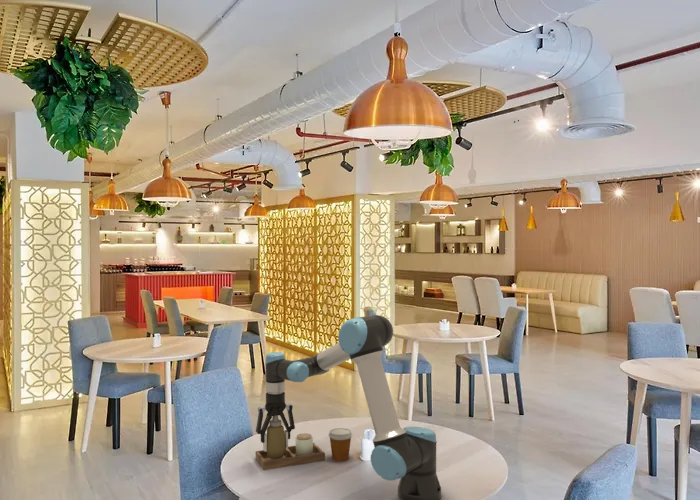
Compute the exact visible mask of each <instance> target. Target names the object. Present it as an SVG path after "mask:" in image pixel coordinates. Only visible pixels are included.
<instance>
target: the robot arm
mask: <svg viewBox="0 0 700 500" xmlns="http://www.w3.org/2000/svg"><path fill="white" fill-rule="evenodd" d="M393 336H394V327H393V325H392V323H391V321H390V320H389V319H388V318H387V317H385V316H382V315H379V314H374V315H368V316H366V315H365V316H359V317H357V316H356V317H353V318H350V319H347V320H346V321H344V322H343V324H341V327H340V329H339V330H338V337H337V340H338V342H337V343H335V344H334V345H331V346H330V347H328V348H326V349H324V350H322V351H320V352H319V353H317V354H315V355H313V356H310V357H309V356H308V357H305V358H300V359H296V360H291V359H289V360H288V359H286V356H285V353H283V352H282V351H281V352H279V351H277V352H269V353H266V355H265V362H264V365H265V392H266V393H265V405H264V406H262V407H260V406H259V407H258V408H257V411H258V416H257V422H256V426H255V427H256V428H255V433H257V434H258V435H260V443H261V444H262V449H263V450H264V451H265V452H266V451H267V428H268V427H269V426H270V420H272V419H273V416H276V415H278V417H280V420H281V422H282V423H283V425H284V427H285V429H284V435H285V444H286V449H287V448H288V447H289V440H290V439H291V432H292V431H293V430H295V429H296V427H295V420H294V415H293V405H292V404H291V403H289V404H287V403H286V393H285V390H286V388H285V387H286V383H285V381H290V382H292V383H303V382H305V381H306V380H307V379H308V378H310V377H314V376H319V375H320V376H321V375H323V374H326V373H328V372H329V371H330V369H332V368H335V367H336V366H339V365H340V364H342V363H344V362H346V361H349V360H350V361H351V362H353V363H355V364H356V366H357V371H358V375H359V379H360V383H361V386H362V389H363V393H364V396H365V401H366V404H367V408H368V412H369V415H370V418H371V422H372V426H373V429H374V433H375V435H374V437H373V439H372V444H373V446H374V448H373V449H372V451H371V454H370V463H371V466H372V469H373V470H374V472H375V473H376V474H377V475H378V476H379V477H381V478H382V479H383V480H385V481H396V480H399V479H400V480H399V483H398V485H397V496H398V498H400V499H401V500H440V499H441V498H442V487H441V484H440V481H439V478H438V475H437V443H438V441H437V433H436V432H435V431H434V430H432V429H430V428H426V427H422V426H406V427H404V428H402V427H401V425H400V422H399V421H400V420H399V419H398V415H397V414H398V413H397V411H396V408H395V405H394V401H393V397H392V393H391V390H390V387H389V382H388V379H387V375H386V372H385V369H384V366H383V362H382V359H381V357H382V355H383V352H384V349H383V347H385V346H387V345H388V344H389V343H390V342H392V339H393ZM285 409H286V410H287V416H288V421H289V423H288V421H287V418H286V416H285V413H284V410H285ZM265 411H266V412H267V413H266V417H265V419H263V418H264V413H265ZM263 420H264V421H263Z"/></svg>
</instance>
